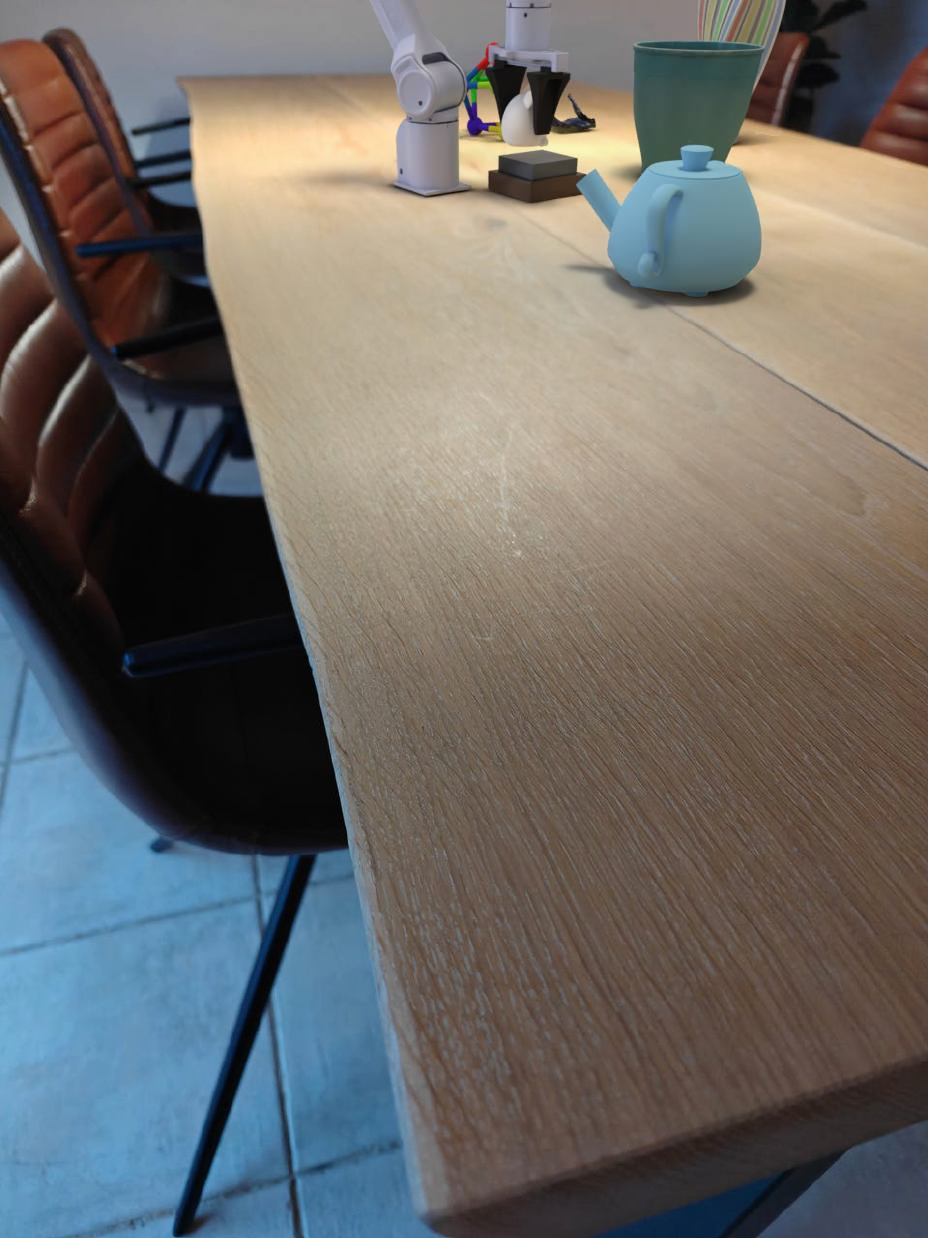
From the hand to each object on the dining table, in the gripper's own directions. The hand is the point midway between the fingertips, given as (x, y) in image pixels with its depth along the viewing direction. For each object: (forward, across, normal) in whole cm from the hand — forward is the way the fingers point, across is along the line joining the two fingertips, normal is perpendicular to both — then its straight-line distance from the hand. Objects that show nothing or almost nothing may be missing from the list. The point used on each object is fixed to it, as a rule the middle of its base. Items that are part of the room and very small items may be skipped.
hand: (524, 130), depth 118 cm
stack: (+8, -2, +4) cm, 10 cm away
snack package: (+9, -43, +42) cm, 60 cm away
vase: (+9, -15, +55) cm, 58 cm away
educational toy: (+9, -43, +25) cm, 51 cm away
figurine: (+2, 0, 0) cm, 2 cm away
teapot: (+8, +38, -10) cm, 40 cm away
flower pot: (+9, +3, +28) cm, 30 cm away
